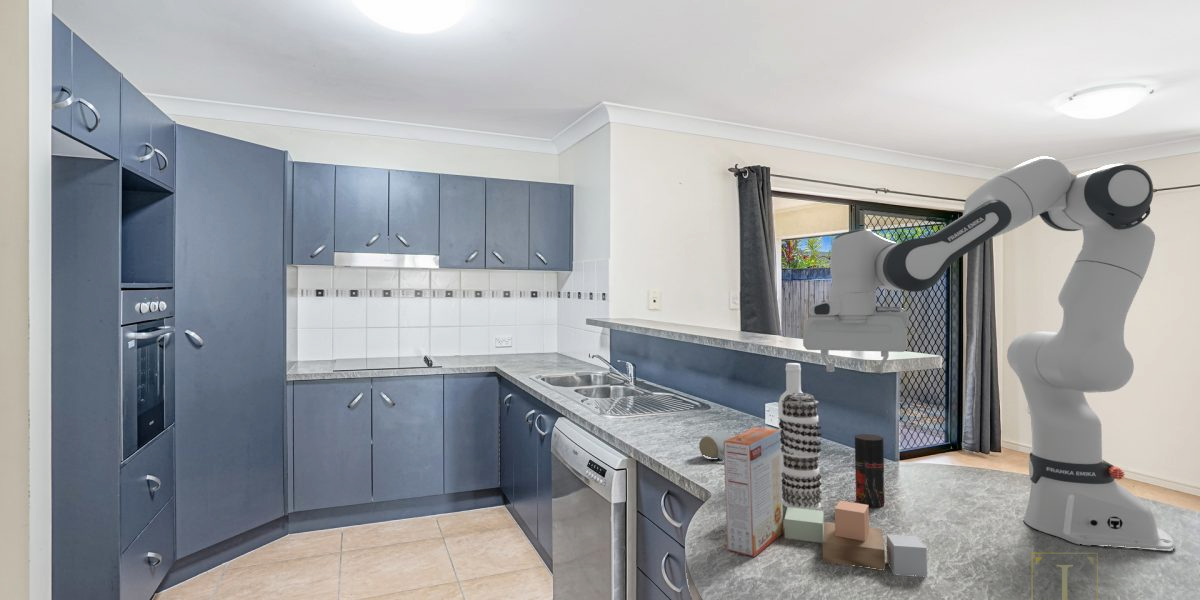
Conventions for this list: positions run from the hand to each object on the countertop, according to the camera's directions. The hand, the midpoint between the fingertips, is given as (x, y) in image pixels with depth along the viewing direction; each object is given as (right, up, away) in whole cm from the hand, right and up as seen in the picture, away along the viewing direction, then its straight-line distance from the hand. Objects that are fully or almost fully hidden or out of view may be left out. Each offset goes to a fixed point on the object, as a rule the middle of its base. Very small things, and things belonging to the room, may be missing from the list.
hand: (854, 372), depth 125 cm
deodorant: (+8, -31, +10) cm, 34 cm away
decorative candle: (-8, -32, +10) cm, 34 cm away
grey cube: (-1, -31, -23) cm, 39 cm away
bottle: (-3, -31, +28) cm, 42 cm away
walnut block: (-7, -32, -16) cm, 37 cm away
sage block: (-13, -32, -7) cm, 35 cm away
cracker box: (-24, -32, -10) cm, 41 cm away
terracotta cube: (-7, -28, -16) cm, 33 cm away
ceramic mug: (-18, -32, +49) cm, 61 cm away
